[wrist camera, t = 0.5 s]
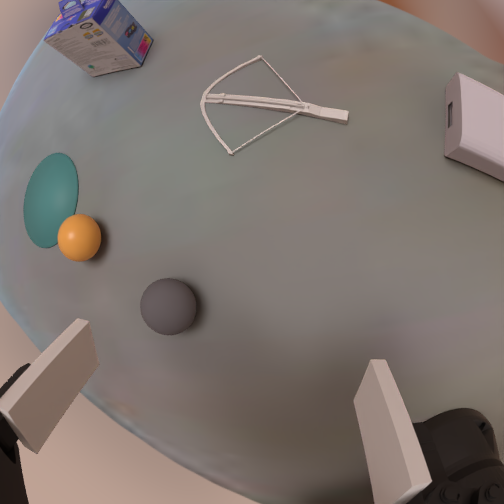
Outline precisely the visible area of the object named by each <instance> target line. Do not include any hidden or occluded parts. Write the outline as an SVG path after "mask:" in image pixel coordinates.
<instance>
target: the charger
mask: <svg viewBox="0 0 504 504" xmlns="http://www.w3.org/2000/svg"><path fill="white" fill-rule="evenodd" d="M445 100H446V122H445V149H444V154H445V156H446V157H449V158H451V159H454V160H456V161H459V162H461V163H464V164H466V165H469V166H471V167H473V168H476V169H478V170H480V171H482V172H485V173H487V174H489V175H491V176H493V177H495V178H497V179H499V180H501V181H503V182H504V95H502V94H500V93H499V92H497V91H495V90H493V89H491V88H489V87H487V86H485V85H483V84H481V83H479V82H477V81H475V80H473V79H471V78H469V77H467V76H465V75H463V74H460V73H458V72H456V74H455V75H454V76H453V78H452V79H451V81H450V82H449V83H448V85H447V87H446V90H445ZM449 104H450V127H449V128H448V105H449Z"/></svg>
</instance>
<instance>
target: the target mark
mask: <svg viewBox="0 0 504 504" xmlns="http://www.w3.org/2000/svg"><path fill="white" fill-rule="evenodd" d="M77 200H78V176H77V171H76V168H75V165H74V163H73V162H72V160H71V159H70V158H69V157H68V156H67V155H65V154H62V153H54V154H51V155H49V156H48V157H46V158H45V159H44V160H43V161H42V162H41V163H40V164H39V165H38V166H37V168H36V169H35V171H34V172H33V174H32V176H31V178H30V181H29V183H28V186H27V190H26V194H25V199H24V222H25V227H26V230H27V233H28V235H29V237H30V239H31V240H32V241H33V242H34V243H35V244H36V245H37V246H39V247H42V248H49V247H52V246H54V245H56V244H57V243H58V231H59V228H60V226H61V225H62V223H63V222H64V221H65V220H66V219H67V218H68V217H70V216H72V215H74V214H75V210H76V205H77Z"/></svg>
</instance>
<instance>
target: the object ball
mask: <svg viewBox="0 0 504 504" xmlns="http://www.w3.org/2000/svg"><path fill="white" fill-rule="evenodd" d="M100 243H101V232H100V228H99V226H98V224H97V223H96V222H95V220H94V219H92V218H91V217H89V216H87V215H84V214H75V215H72V216H70V217H68V218H67V219H66V220H65V221H64V222H63V223H62V225H61V226H60V228H59V231H58V245H59V248H60V250H61V252H62V253H63V254H64V255H65V256H66V257H67V258H68V259H70V260H73V261H78V262H81V261H86V260H88V259H90V258H91V257H93V256H94V255H95V254H96V252H97V251H98V249H99V247H100Z"/></svg>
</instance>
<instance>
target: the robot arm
mask: <svg viewBox="0 0 504 504" xmlns="http://www.w3.org/2000/svg"><path fill="white" fill-rule="evenodd" d="M98 366H99V360H98V356H97V352H96V349H95V344H94V340H93V336H92V332H91V327H90V322H89V321H86V320H82V319H78V318H77V319H76V320H75V321H74V322H73V323H72V324H71V325H70V326H69V327H68V328H67V329H66V330H65V331H64V332H63V333H62V334H61V335H60V336H59V337H58V338H57V339H56V340H55V341H54V342H53V343H52V344H51V345H50V346H49V347H48V348H47V349H46V350H45V351H44V352H43V353H42V354H41V355H40V356H39V357H38V358H37V359H36V360H35V361H34V362H33V363H32V364H29V363H28V364H26V365H24V366H22V367H20V368H19V369H18V370H17V371H16V372H15V373H14V374H13V376H11V377H10V378H9V379H8V382H6V383H5V384H4V385H3V386H2V387H1V388H0V504H29V502H28V498H27V494H26V489H25V485H24V479H23V474H22V469H21V462H20V455H19V448H18V445H17V443H16V442H17V440H18V439H19V440H20V441H21V442H22V444H23V445H24V446H25V447H27V448H28V449H29V450H31V451H33V452H34V453H36V454H38V452H39V451H40V449H41V447H42V446H43V444H44V443H45V441H46V440H47V438H48V437H49V435H50V434H51V432H52V431H53V429H54V428H55V426H56V425H57V423H58V422H59V420H60V419H61V418H62V416H63V415H64V413H65V412H66V410H67V409H68V407H69V406H70V404H71V403H72V402H73V400H74V399H75V397H76V396H77V395H78V393H79V392H80V390H81V389H82V388H83V386H84V385H85V384H86V382H87V381H88V379H89V378H90V377H91V375H92V374H93V373H94V371H95V370H96V368H97V367H98ZM353 402H354V406H355V410H356V414H357V419H358V423H359V427H360V432H361V436H362V441H363V446H364V450H365V455H366V460H367V465H368V470H369V475H370V481H371V486H372V492H373V497H374V503H375V504H504V465H503V464H502V462H501V461H500V458H499V453H498V448H497V443H496V439H495V434H494V430H493V428H492V426H491V424H490V422H489V421H488V420H487V419H486V418H485V417H484V416H483V415H482V414H481V413H480V412H478V411H476V410H473V409H456V410H452V411H448V412H445V413H442V414H440V415H438V416H436V417H433V418H432V419H430V420H428V421H426V422H425V423H422V422H420V423H411V420H410V417H409V415H408V412H407V410H406V407H405V405H404V402H403V400H402V397H401V395H400V392H399V390H398V388H397V385H396V383H395V380H394V378H393V376H392V373H391V371H390V369H389V366H388V364H387V362H386V360H385V359H370V362H369V364H368V367H367V369H366V372H365V374H364V377H363V379H362V382H361V384H360V386H359V389H358V391H357V393H356V396H355V398H354V400H353Z"/></svg>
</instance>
